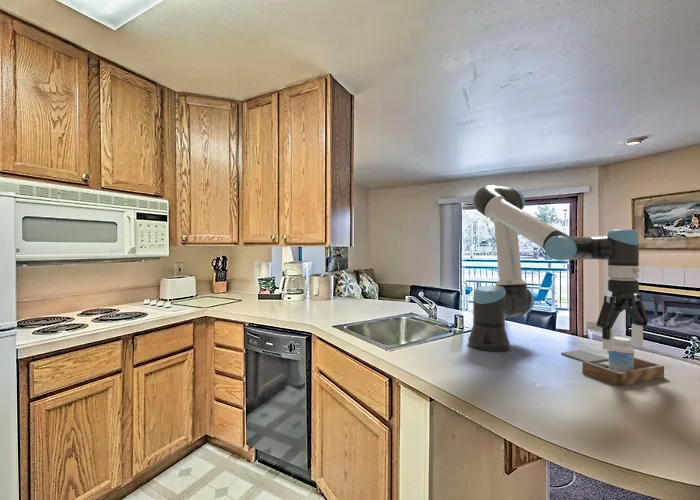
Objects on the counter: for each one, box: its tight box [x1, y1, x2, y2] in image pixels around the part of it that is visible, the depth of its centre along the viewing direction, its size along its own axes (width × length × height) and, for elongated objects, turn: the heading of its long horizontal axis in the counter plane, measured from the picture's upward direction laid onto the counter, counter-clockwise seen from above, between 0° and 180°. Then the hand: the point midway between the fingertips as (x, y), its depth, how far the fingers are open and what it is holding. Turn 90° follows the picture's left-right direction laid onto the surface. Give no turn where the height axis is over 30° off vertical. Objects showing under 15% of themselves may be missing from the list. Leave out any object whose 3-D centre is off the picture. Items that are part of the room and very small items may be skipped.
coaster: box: [560, 349, 609, 364], centre depth 122 cm, size 10×10×1 cm
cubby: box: [581, 356, 665, 387], centre depth 106 cm, size 20×11×4 cm, turn 110°
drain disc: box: [594, 362, 609, 369], centre depth 113 cm, size 4×4×1 cm
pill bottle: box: [608, 336, 635, 372], centre depth 106 cm, size 6×6×11 cm
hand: (622, 347), depth 106 cm, fingers open, 13 cm apart
